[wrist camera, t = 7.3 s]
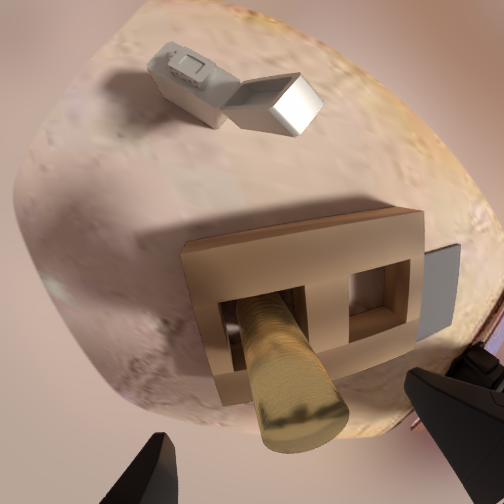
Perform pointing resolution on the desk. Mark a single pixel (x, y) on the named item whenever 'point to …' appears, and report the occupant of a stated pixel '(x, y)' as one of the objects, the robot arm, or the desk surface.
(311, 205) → the desk surface
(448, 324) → the mat
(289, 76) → the lighter
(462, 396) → the robot arm
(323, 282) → the hole block
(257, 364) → the peg
